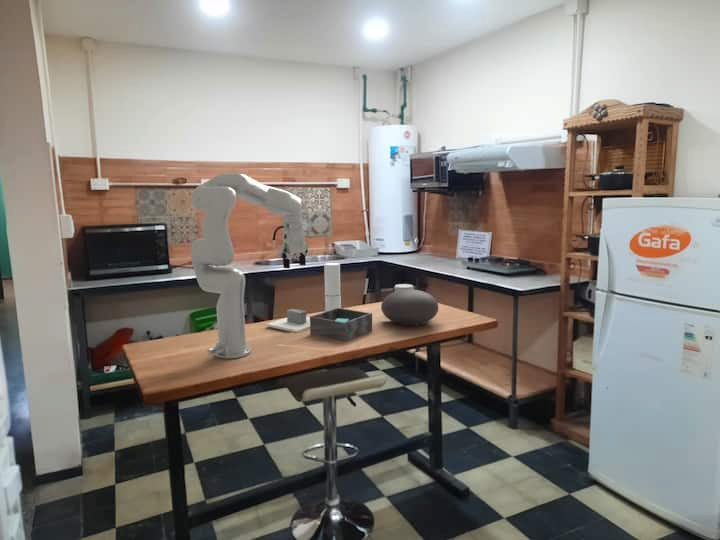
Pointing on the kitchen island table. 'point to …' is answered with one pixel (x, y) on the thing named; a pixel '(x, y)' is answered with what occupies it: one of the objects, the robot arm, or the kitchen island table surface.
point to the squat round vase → (409, 307)
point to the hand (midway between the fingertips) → (294, 266)
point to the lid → (292, 321)
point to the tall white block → (332, 286)
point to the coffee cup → (403, 287)
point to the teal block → (342, 320)
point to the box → (341, 324)
